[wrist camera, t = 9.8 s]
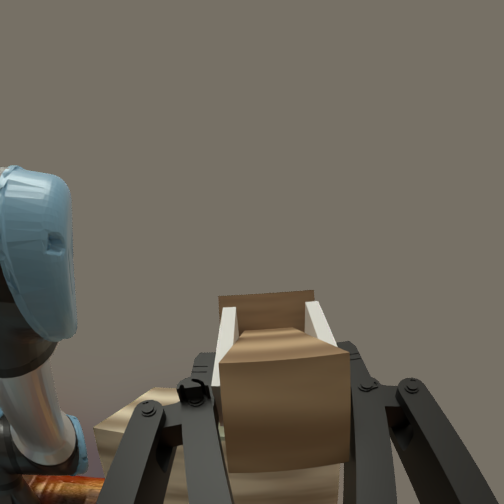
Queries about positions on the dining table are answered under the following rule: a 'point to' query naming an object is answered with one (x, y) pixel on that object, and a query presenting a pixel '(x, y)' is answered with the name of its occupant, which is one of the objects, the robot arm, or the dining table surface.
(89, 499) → the dining table surface
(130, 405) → the stand
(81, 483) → the dining table surface
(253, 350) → the mallet
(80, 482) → the dining table surface
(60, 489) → the dining table surface
